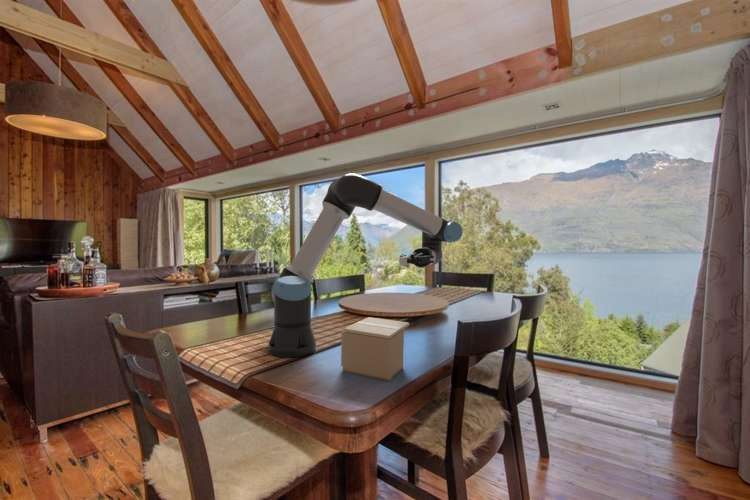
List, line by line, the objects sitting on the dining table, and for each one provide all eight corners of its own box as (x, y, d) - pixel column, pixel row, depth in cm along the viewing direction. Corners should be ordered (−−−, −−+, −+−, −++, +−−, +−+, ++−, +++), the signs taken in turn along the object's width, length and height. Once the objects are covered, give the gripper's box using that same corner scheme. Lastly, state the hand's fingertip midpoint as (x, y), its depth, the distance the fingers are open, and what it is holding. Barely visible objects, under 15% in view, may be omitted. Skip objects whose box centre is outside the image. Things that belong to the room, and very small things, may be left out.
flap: (343, 331, 94) (343, 328, 94) (368, 319, 108) (368, 316, 108) (389, 338, 89) (389, 335, 89) (409, 325, 102) (409, 322, 102)
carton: (340, 370, 95) (340, 331, 95) (357, 359, 104) (358, 323, 104) (389, 381, 89) (389, 339, 88) (403, 368, 98) (403, 330, 97)
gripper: (439, 267, 131) (420, 274, 110) (407, 265, 137) (383, 271, 116) (440, 248, 131) (420, 250, 110) (407, 247, 136) (383, 249, 115)
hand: (401, 261), depth 113 cm, fingers closed
